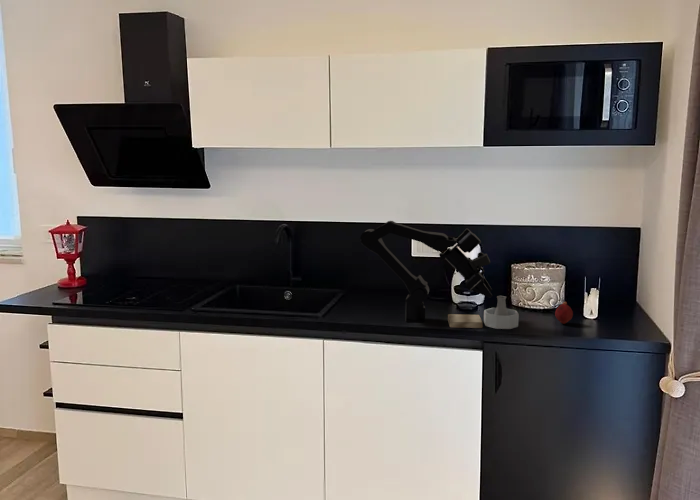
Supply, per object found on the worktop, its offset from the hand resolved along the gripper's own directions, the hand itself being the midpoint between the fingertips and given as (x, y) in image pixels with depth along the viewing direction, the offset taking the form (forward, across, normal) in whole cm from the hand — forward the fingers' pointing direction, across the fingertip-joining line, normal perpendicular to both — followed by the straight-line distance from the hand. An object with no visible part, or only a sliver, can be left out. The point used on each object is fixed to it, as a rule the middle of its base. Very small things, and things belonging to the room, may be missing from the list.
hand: (491, 293), depth 222 cm
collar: (+10, 0, +5) cm, 11 cm away
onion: (+26, +5, -10) cm, 28 cm away
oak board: (+1, -2, +14) cm, 14 cm away
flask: (+10, 0, +5) cm, 12 cm away
